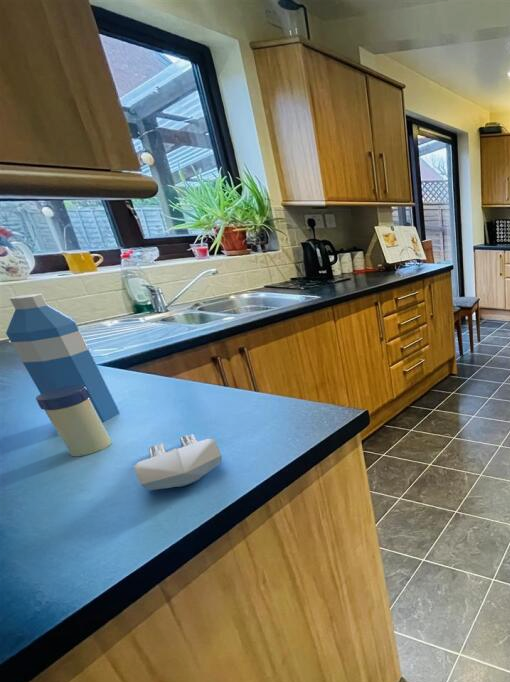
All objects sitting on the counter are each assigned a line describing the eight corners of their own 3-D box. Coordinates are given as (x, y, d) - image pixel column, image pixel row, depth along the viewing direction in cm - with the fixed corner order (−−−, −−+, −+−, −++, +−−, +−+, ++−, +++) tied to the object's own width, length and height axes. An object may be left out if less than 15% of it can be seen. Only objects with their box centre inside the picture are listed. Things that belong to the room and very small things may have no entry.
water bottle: (74, 432, 76) (2, 303, 66) (47, 425, 80) (-26, 300, 69) (131, 410, 84) (74, 292, 74) (104, 405, 87) (46, 290, 77)
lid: (31, 412, 64) (25, 402, 63) (55, 397, 69) (49, 388, 68) (77, 405, 66) (72, 396, 65) (97, 391, 71) (92, 382, 70)
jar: (62, 459, 68) (30, 404, 64) (81, 443, 73) (52, 391, 68) (102, 452, 70) (73, 398, 65) (117, 437, 74) (91, 385, 70)
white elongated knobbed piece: (211, 444, 75) (201, 421, 73) (232, 474, 61) (221, 446, 59) (141, 468, 68) (129, 443, 67) (147, 507, 54) (132, 477, 53)
